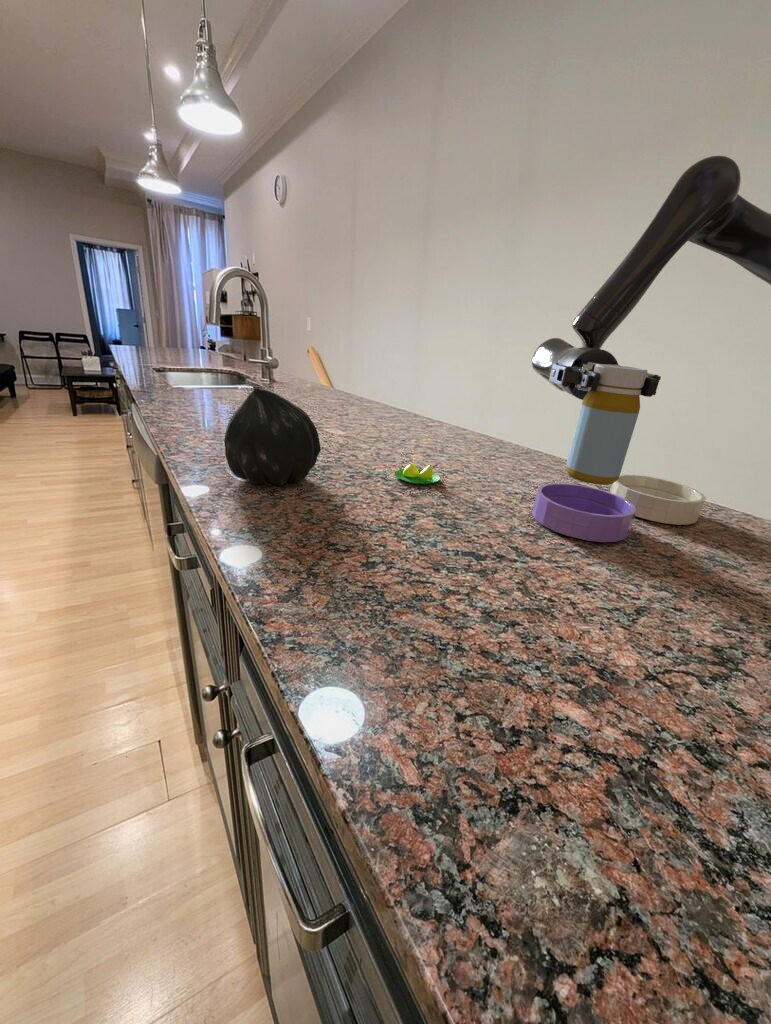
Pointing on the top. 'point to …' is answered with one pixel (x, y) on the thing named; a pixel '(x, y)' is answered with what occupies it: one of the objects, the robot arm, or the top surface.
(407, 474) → the plate of pears
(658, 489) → the cream bowl
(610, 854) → the top surface
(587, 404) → the bottle
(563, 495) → the lavender bowl
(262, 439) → the squash
